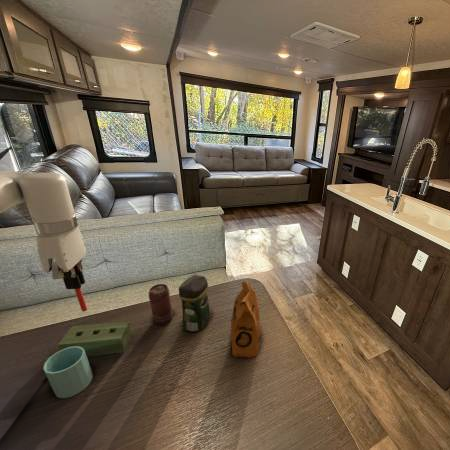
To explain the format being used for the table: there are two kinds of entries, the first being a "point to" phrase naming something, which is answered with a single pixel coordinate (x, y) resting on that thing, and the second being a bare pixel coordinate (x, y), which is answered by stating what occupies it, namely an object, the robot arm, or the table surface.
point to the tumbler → (68, 371)
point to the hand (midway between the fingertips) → (76, 285)
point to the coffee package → (245, 323)
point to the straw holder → (98, 338)
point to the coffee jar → (195, 303)
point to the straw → (80, 299)
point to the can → (160, 304)
